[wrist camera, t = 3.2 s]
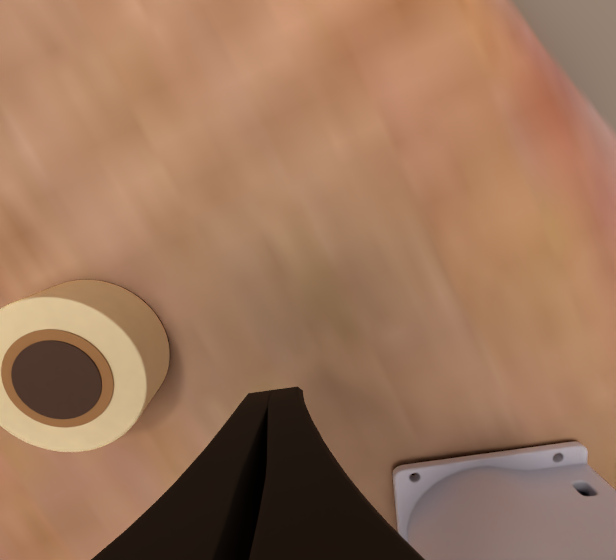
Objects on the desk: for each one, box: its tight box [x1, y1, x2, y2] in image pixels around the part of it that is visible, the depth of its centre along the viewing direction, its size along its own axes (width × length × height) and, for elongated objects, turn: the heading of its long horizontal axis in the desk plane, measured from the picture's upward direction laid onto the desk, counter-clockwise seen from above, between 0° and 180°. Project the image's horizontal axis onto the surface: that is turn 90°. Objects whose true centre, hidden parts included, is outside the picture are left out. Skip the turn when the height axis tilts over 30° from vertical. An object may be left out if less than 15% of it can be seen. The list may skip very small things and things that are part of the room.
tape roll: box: [0, 280, 170, 452], centre depth 14 cm, size 6×6×3 cm
